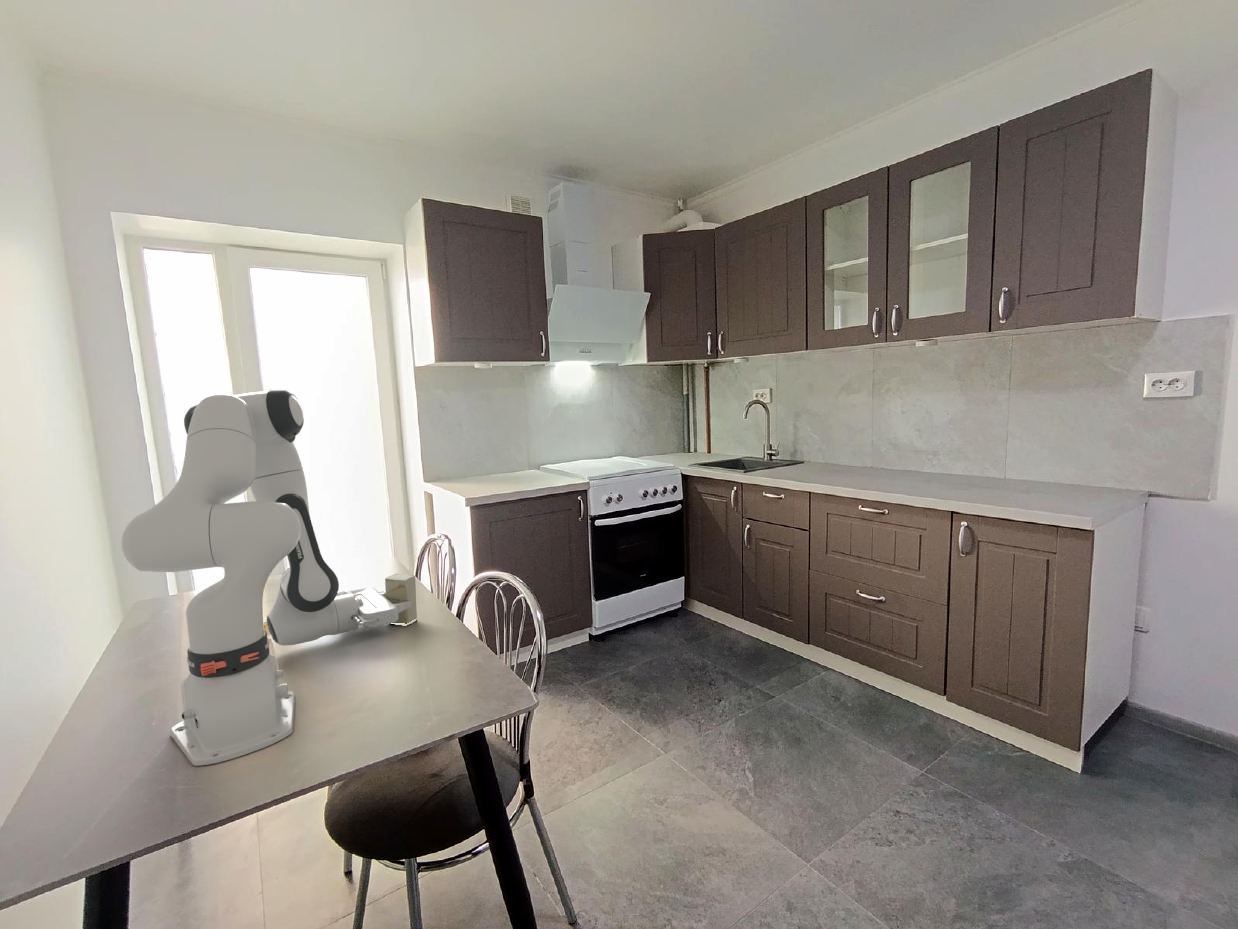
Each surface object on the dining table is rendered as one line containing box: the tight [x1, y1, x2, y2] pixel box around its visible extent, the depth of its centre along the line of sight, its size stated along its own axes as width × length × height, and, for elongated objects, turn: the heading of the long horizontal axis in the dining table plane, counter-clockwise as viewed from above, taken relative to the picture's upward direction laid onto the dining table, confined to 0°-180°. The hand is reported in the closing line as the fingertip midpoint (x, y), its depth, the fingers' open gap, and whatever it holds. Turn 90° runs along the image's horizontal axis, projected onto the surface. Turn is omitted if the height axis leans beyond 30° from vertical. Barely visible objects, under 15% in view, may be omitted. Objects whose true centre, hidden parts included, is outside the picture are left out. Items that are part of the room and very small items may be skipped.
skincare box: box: [384, 573, 418, 624], centre depth 146 cm, size 6×4×12 cm
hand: (404, 599), depth 146 cm, fingers closed on skincare box, 7 cm apart
